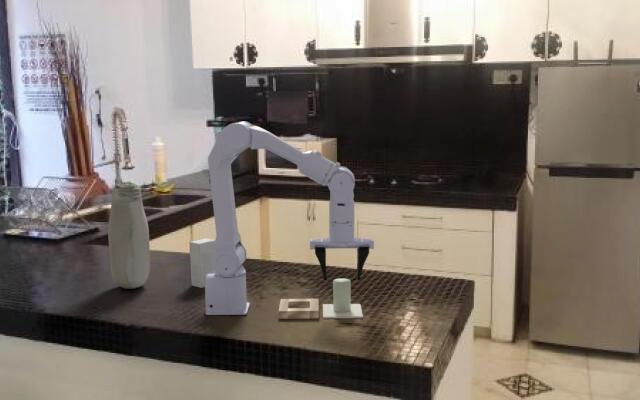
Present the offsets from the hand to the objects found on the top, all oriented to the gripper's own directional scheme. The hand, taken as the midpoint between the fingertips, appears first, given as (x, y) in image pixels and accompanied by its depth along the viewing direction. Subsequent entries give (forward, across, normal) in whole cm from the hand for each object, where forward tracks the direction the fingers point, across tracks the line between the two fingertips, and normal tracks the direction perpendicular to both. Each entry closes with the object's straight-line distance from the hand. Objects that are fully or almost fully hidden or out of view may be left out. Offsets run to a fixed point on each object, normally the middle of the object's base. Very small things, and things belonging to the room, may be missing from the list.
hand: (341, 279), depth 153 cm
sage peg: (+7, 0, 0) cm, 7 cm away
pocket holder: (+8, -10, 0) cm, 13 cm away
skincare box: (+8, -36, +24) cm, 44 cm away
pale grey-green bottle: (+8, -55, +22) cm, 60 cm away
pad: (+8, 0, 0) cm, 8 cm away
